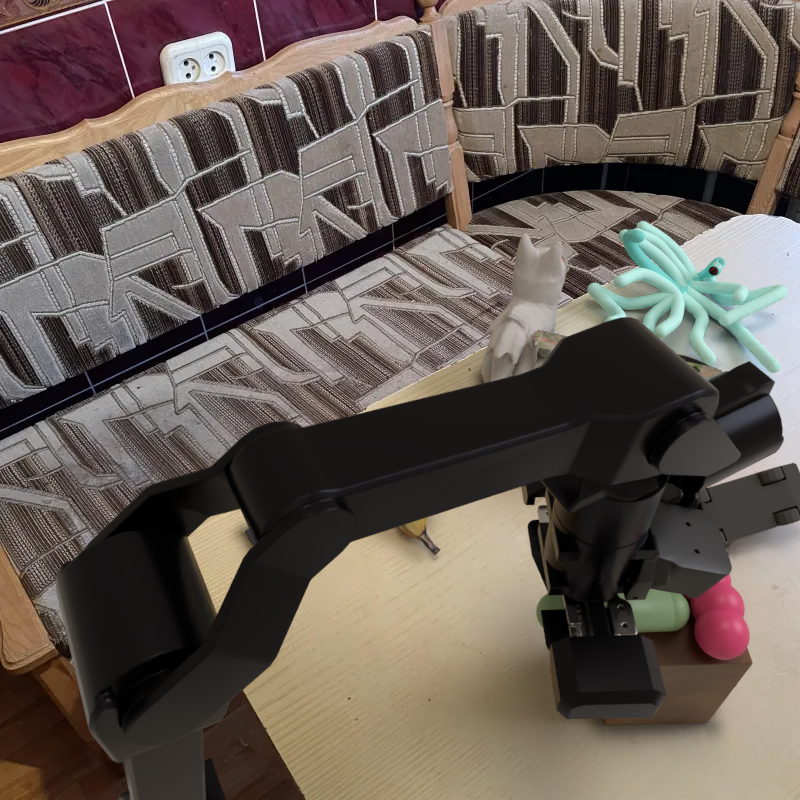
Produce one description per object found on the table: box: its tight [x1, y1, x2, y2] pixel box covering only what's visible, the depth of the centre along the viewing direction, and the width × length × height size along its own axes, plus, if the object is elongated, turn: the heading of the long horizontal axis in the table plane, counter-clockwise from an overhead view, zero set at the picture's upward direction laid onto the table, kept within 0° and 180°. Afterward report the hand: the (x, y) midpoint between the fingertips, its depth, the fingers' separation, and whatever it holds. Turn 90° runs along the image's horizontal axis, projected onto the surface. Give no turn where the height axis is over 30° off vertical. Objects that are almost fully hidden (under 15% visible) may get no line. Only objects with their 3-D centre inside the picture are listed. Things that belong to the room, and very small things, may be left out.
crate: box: [603, 588, 754, 726], centre depth 60 cm, size 8×7×12 cm
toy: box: [480, 233, 571, 383], centre depth 85 cm, size 6×19×15 cm, turn 150°
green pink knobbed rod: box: [535, 573, 751, 660], centre depth 55 cm, size 15×8×4 cm, turn 91°
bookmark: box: [533, 330, 723, 380], centre depth 82 cm, size 3×21×1 cm, turn 81°
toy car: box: [697, 462, 800, 544], centre depth 73 cm, size 6×13×5 cm
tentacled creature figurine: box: [587, 220, 789, 374], centre depth 93 cm, size 25×14×18 cm
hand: (566, 627), depth 56 cm, fingers closed on green pink knobbed rod, 3 cm apart
